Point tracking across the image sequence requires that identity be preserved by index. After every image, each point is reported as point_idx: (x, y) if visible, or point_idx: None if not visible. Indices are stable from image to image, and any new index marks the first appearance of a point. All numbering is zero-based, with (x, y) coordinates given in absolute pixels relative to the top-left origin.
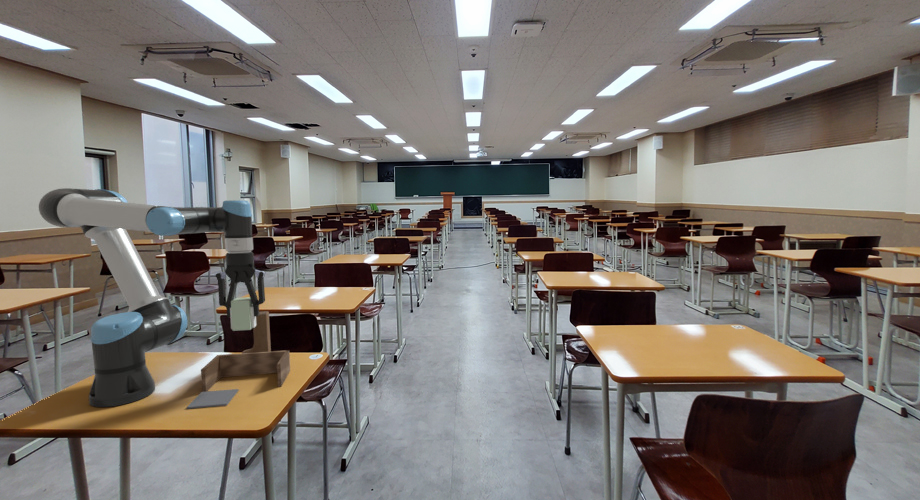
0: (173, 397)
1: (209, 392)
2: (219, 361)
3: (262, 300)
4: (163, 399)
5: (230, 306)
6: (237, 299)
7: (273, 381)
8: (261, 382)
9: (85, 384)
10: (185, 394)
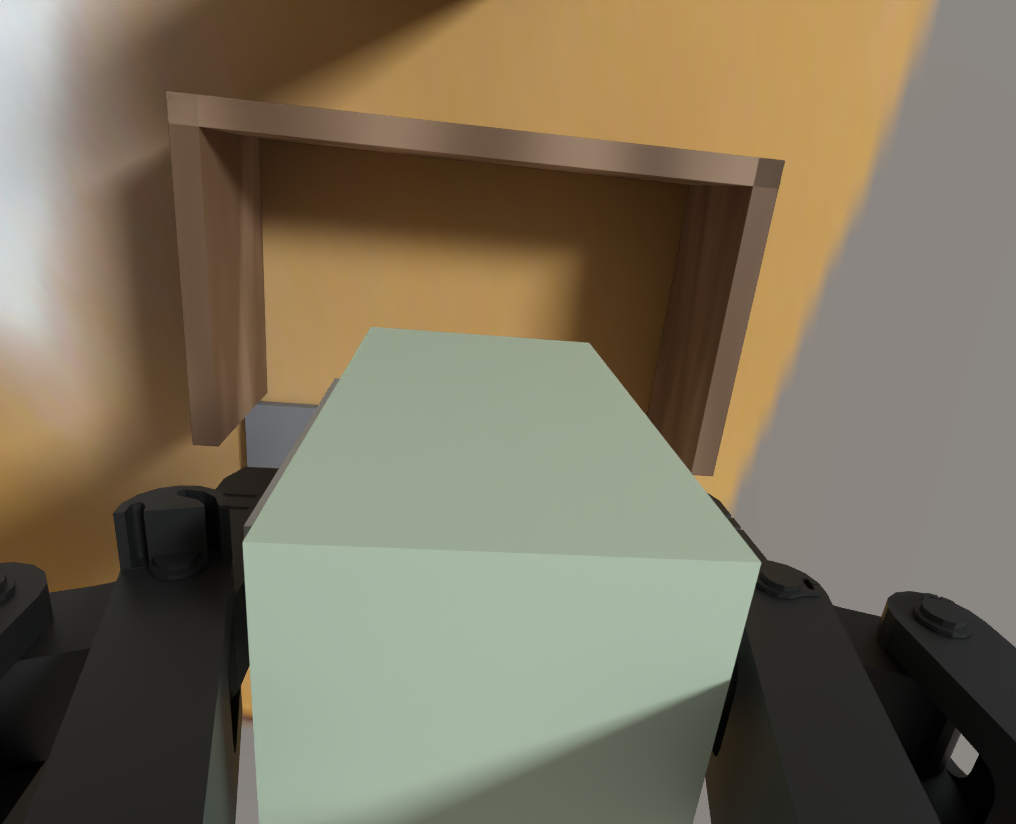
0: (105, 411)
1: (294, 424)
2: (217, 140)
3: (938, 792)
4: (61, 424)
5: (244, 672)
6: (362, 749)
7: (617, 330)
8: (550, 326)
9: None
10: (154, 386)
